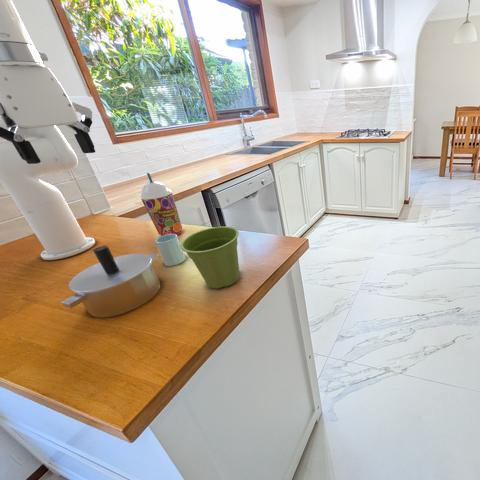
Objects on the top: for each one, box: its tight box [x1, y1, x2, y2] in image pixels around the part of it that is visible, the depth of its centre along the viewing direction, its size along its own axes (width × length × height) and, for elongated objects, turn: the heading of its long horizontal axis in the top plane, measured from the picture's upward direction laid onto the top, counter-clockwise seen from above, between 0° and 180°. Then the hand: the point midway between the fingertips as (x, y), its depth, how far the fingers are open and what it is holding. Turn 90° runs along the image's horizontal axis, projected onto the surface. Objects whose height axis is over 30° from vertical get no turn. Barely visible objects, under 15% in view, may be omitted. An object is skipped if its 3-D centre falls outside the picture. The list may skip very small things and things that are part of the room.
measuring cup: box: [154, 234, 186, 267], centre depth 76 cm, size 5×5×7 cm
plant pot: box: [180, 226, 240, 290], centre depth 65 cm, size 12×12×11 cm
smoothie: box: [139, 172, 183, 236], centre depth 89 cm, size 8×8×20 cm
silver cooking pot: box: [61, 252, 161, 318], centre depth 63 cm, size 13×19×6 cm
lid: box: [68, 245, 153, 294], centre depth 61 cm, size 14×14×7 cm
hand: (64, 157), depth 58 cm, fingers open, 9 cm apart
